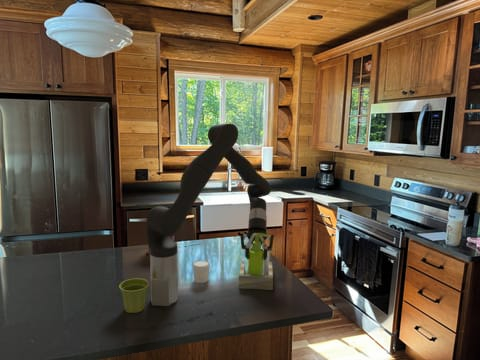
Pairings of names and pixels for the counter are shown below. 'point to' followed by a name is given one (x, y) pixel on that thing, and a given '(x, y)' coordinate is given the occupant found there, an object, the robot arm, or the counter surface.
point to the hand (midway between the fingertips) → (256, 258)
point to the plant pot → (134, 294)
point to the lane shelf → (256, 279)
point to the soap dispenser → (256, 256)
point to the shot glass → (201, 271)
